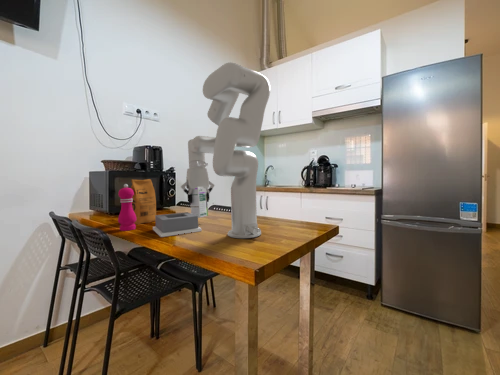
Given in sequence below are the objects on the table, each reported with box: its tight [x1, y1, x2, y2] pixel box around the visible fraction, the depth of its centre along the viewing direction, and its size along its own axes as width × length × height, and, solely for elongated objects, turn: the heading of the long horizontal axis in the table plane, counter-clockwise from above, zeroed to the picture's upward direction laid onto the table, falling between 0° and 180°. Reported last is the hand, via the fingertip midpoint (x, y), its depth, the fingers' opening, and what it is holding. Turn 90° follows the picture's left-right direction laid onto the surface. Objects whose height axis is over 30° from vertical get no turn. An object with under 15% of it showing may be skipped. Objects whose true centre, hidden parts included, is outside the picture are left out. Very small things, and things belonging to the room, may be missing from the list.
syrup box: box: [190, 187, 209, 219], centre depth 113 cm, size 6×6×14 cm
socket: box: [152, 211, 202, 238], centre depth 99 cm, size 16×16×6 cm
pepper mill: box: [117, 183, 137, 232], centre depth 103 cm, size 7×7×20 cm
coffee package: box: [130, 178, 157, 225], centre depth 120 cm, size 10×12×22 cm
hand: (198, 202), depth 113 cm, fingers closed on syrup box, 7 cm apart
